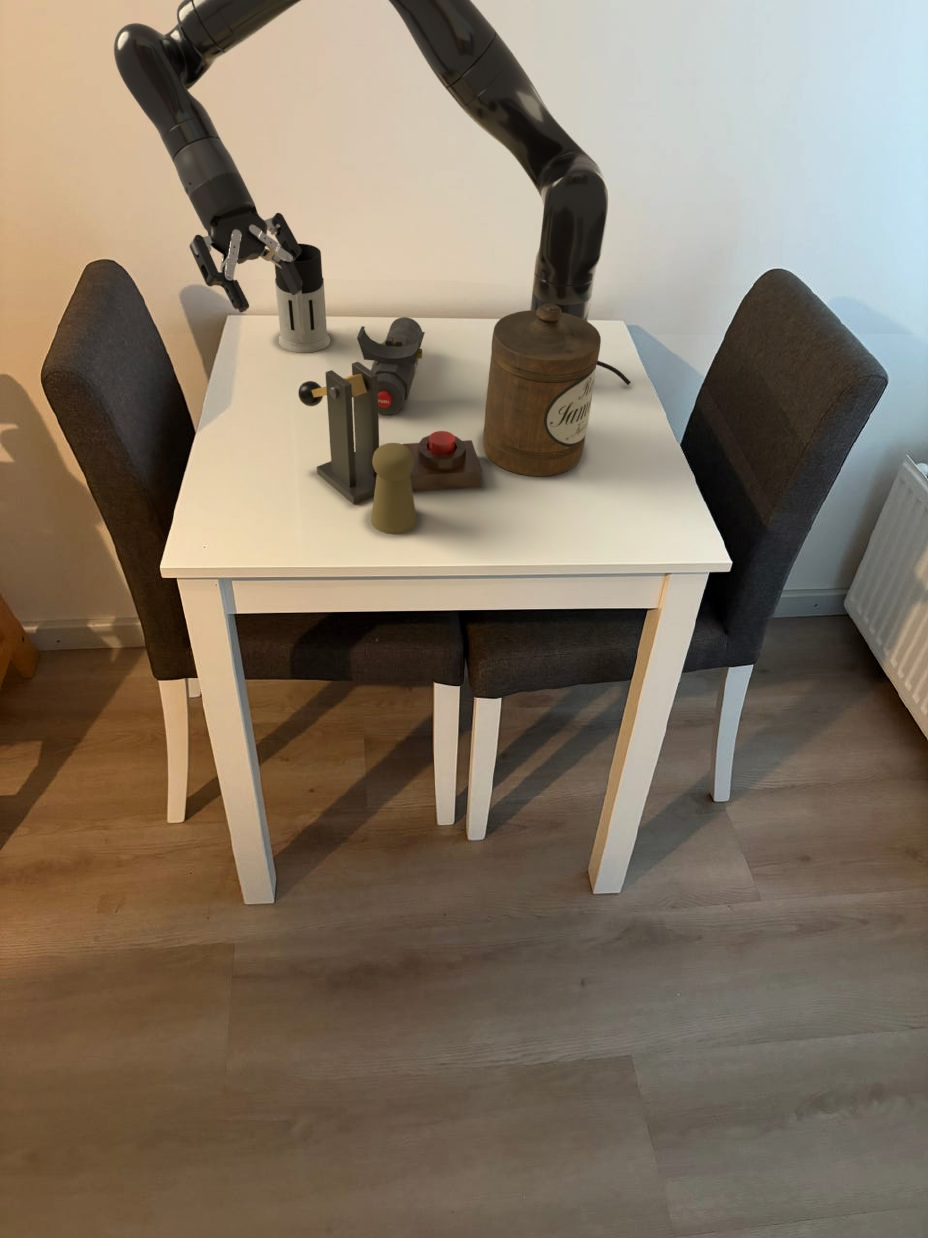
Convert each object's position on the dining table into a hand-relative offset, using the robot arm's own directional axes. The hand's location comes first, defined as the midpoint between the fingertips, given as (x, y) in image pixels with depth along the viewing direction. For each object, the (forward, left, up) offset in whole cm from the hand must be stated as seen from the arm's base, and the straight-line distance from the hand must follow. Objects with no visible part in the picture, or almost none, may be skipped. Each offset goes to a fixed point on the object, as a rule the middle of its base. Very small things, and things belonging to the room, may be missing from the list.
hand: (272, 300), depth 121 cm
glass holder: (-4, -23, -19) cm, 30 cm away
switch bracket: (-9, +17, -18) cm, 27 cm away
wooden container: (-36, +11, -19) cm, 42 cm away
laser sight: (-18, -10, -19) cm, 28 cm away
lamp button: (-21, +16, -14) cm, 31 cm away
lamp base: (-21, +16, -18) cm, 33 cm away
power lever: (-7, +13, -8) cm, 17 cm away
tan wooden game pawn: (-14, +26, -19) cm, 35 cm away
